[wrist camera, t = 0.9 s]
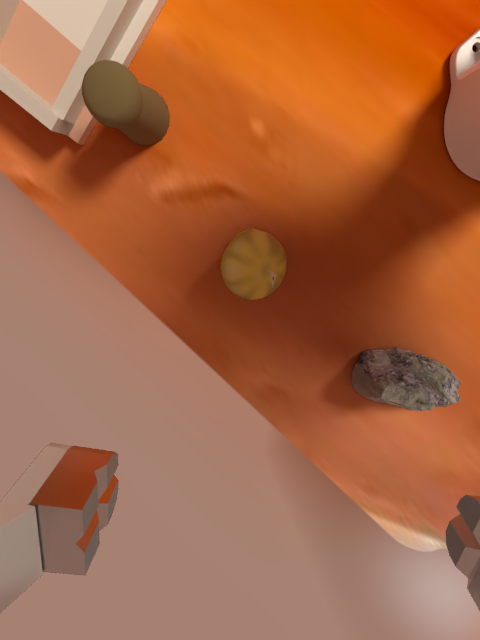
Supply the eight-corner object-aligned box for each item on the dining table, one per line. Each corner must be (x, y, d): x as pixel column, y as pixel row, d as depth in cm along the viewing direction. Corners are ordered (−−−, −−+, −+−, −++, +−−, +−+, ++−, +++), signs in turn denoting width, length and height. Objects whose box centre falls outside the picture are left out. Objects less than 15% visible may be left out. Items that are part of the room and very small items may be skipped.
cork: (114, 137, 41) (66, 117, 30) (122, 78, 38) (74, 37, 28) (163, 152, 41) (133, 139, 31) (174, 95, 39) (146, 60, 29)
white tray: (51, -119, 33) (17, -171, 28) (169, -5, 36) (156, -35, 31) (-25, 57, 38) (-64, 38, 34) (83, 145, 41) (61, 139, 36)
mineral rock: (455, 372, 50) (502, 414, 40) (398, 420, 53) (430, 469, 43) (393, 319, 47) (428, 350, 38) (337, 372, 50) (357, 413, 41)
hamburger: (226, 222, 43) (217, 233, 32) (283, 224, 43) (294, 234, 32) (226, 282, 46) (217, 310, 35) (280, 283, 46) (288, 312, 35)
